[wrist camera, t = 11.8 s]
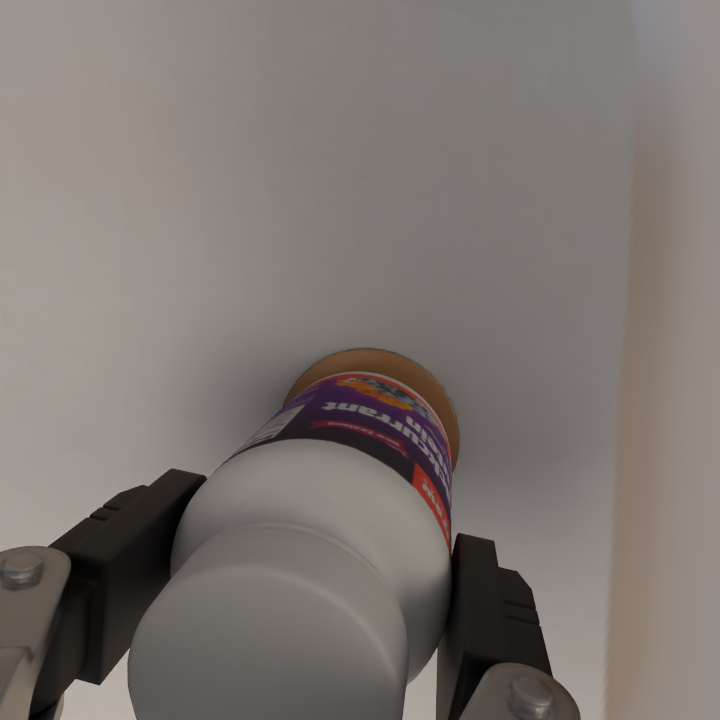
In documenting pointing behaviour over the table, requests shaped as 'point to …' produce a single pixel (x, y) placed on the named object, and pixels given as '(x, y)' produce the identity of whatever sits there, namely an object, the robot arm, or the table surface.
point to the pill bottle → (307, 566)
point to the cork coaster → (392, 368)
